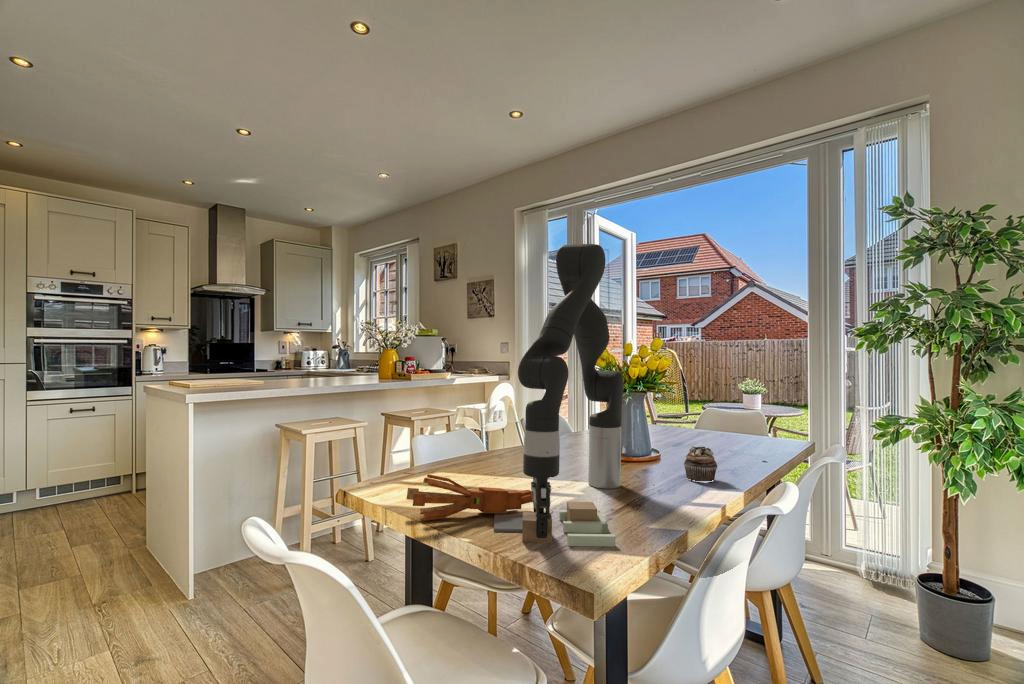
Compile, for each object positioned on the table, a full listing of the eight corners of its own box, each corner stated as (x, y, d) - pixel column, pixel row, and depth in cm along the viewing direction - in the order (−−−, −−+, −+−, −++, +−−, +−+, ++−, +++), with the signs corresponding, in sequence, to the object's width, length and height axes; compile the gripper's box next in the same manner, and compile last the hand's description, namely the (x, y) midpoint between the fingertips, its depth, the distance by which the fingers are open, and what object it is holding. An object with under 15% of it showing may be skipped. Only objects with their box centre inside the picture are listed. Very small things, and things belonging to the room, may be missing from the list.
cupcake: (677, 476, 154) (677, 444, 154) (703, 475, 157) (704, 443, 157) (696, 485, 145) (696, 451, 145) (724, 483, 147) (724, 449, 148)
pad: (494, 517, 114) (494, 514, 114) (533, 517, 114) (533, 514, 114) (493, 531, 105) (493, 528, 105) (535, 532, 105) (535, 529, 105)
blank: (522, 533, 105) (523, 512, 105) (550, 534, 105) (551, 512, 105) (522, 542, 100) (522, 520, 100) (551, 543, 100) (552, 521, 100)
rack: (559, 518, 114) (559, 499, 114) (600, 519, 114) (600, 499, 114) (567, 545, 98) (568, 523, 98) (615, 546, 98) (615, 523, 98)
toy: (399, 502, 115) (512, 498, 129) (409, 533, 106) (531, 525, 119) (406, 465, 113) (521, 465, 126) (418, 493, 103) (541, 489, 117)
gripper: (563, 459, 95) (562, 543, 95) (555, 445, 110) (554, 518, 109) (525, 458, 95) (523, 542, 95) (522, 444, 109) (520, 517, 109)
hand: (540, 529), depth 102 cm, fingers open, 8 cm apart
